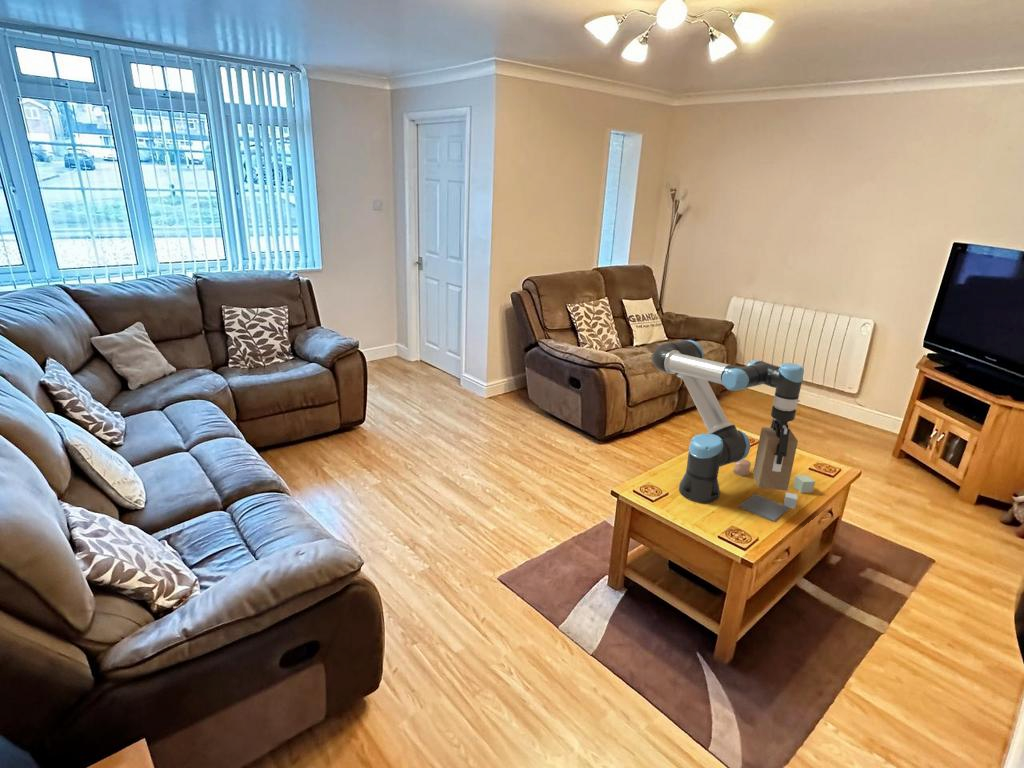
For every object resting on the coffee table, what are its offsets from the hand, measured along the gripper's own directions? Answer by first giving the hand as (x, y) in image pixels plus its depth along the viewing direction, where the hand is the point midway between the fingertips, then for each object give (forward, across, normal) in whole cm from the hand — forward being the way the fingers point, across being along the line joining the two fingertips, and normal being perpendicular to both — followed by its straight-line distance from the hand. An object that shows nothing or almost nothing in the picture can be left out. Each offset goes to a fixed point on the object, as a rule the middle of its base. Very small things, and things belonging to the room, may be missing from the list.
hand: (773, 464), depth 197 cm
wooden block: (+8, 0, 0) cm, 8 cm away
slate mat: (+19, 0, 0) cm, 19 cm away
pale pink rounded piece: (+19, +27, +4) cm, 33 cm away
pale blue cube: (+19, +5, -10) cm, 22 cm away
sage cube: (+19, +19, -18) cm, 32 cm away
